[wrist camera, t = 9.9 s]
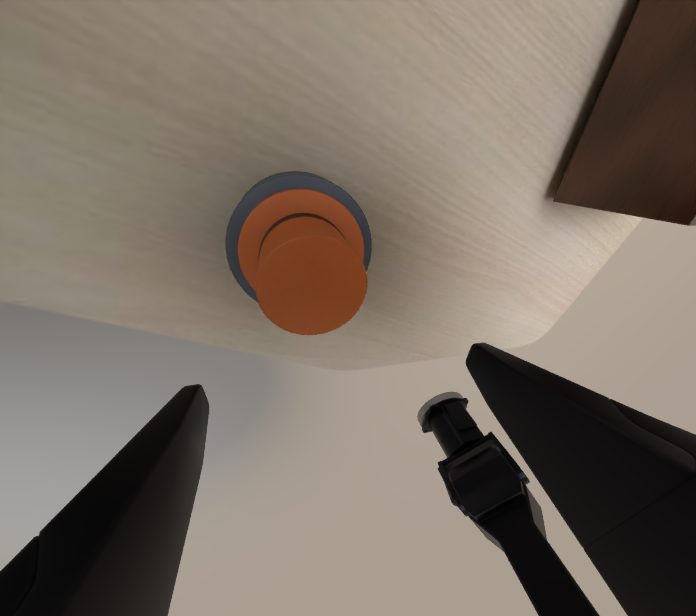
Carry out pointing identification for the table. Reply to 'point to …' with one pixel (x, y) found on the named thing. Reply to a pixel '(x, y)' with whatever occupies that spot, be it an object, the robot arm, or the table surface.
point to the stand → (276, 185)
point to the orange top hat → (304, 260)
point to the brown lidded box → (642, 122)
